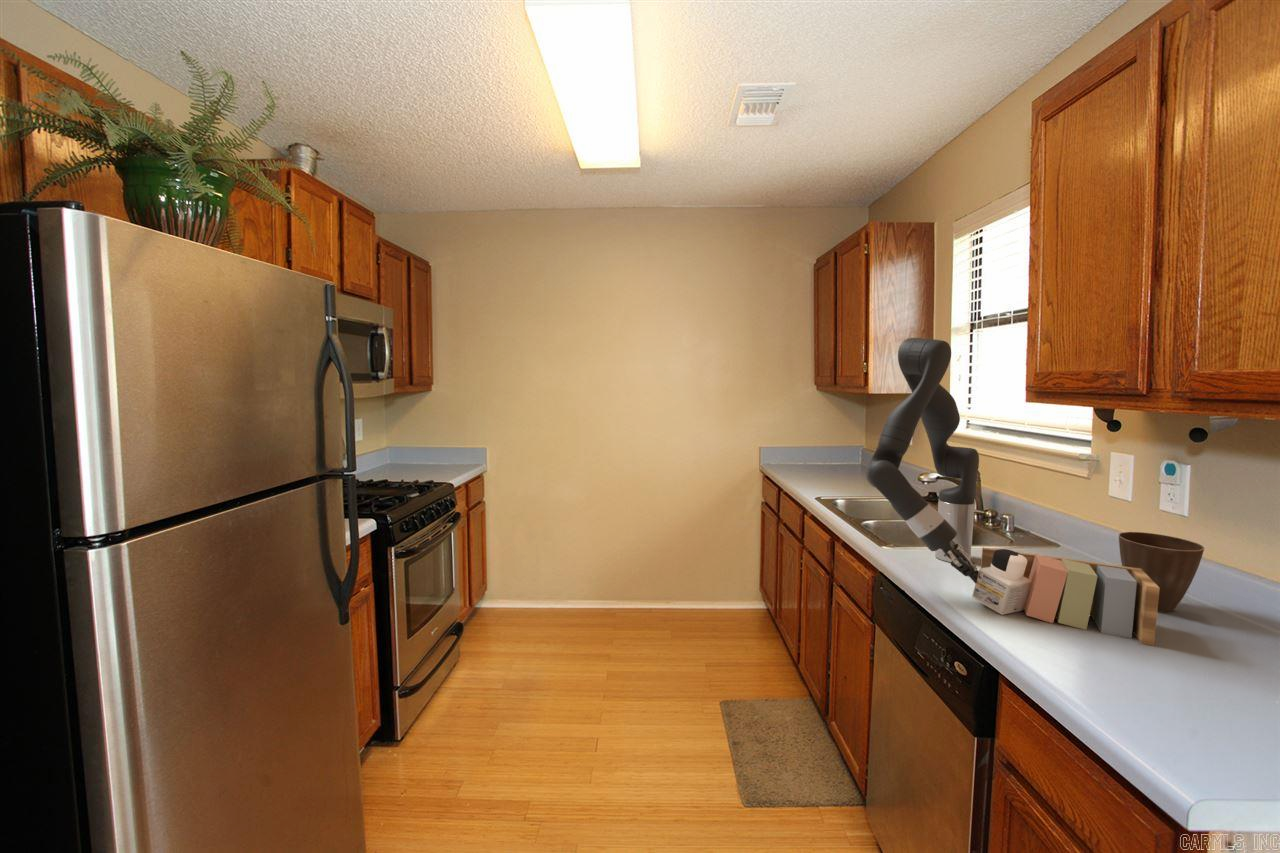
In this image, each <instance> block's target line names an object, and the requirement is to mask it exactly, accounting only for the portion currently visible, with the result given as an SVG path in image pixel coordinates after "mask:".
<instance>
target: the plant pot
mask: <svg viewBox="0 0 1280 853" xmlns="http://www.w3.org/2000/svg"><path fill="white" fill-rule="evenodd" d="M1118 543H1119V544H1118V545H1119V554H1120V561H1121V562H1120V563H1121V566H1125V567H1132V568H1140V569H1142V570H1143V571H1144V572H1145V573H1146V574H1147V575H1148V576H1149V577H1150V579H1151V580H1152V581H1153V582H1154V583H1155V584H1156V585H1157V586H1158V587H1159V588H1160V590H1159V600H1158V611H1157V613H1173V612H1174V611H1175V610H1176V609H1177V607H1178V606H1179V604H1180V602H1181V601H1182V600H1183V598H1184V596H1185V595H1186V594H1187V592H1188V589H1189V588H1190V586H1191V584H1192V582H1193V580H1194V578H1195V576H1196V573H1197V570H1198V568H1199V566H1200V563H1201V560H1202V558H1203V555H1204V551H1205V547H1204V546H1203V544H1200V543H1197V542H1195V541H1191V540H1189V539H1185V538H1180V537H1176V536H1170V535H1167V534H1166V535H1164V534H1157V533H1152V532H1142V531H1141V532H1139V531H1125V532H1120V533H1119V534H1118Z"/></svg>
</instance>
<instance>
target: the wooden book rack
mask: <svg viewBox="0 0 1280 853" xmlns="http://www.w3.org/2000/svg"><path fill="white" fill-rule="evenodd" d="M981 549H982V550H981V564H980V568H987V567H991V562H992V558H993V554H994V551H995V550H998V549H997V548H990V547H982V548H981ZM1016 552H1017V553H1019V554H1021V555H1023V556H1024V557H1025V558H1026V559H1027V565H1026V568H1025V572H1024V575H1023V577H1025V578H1027V579H1029V575H1030V572H1031V568H1032V565H1033V561H1034V558H1035V554H1036V553H1035V554H1034V553H1025V552H1019V551H1016ZM1041 555H1042V554H1041ZM1042 556H1044V555H1042ZM1045 556H1046V557H1049V558H1053V559H1057V560H1061V561H1062V559H1066V560H1071V561H1075V562H1080V563H1085V564H1089V565H1090V566H1091V568H1092V569H1093V571H1094V572H1095V573H1097V565H1099V566H1106V567H1114V568H1121V569H1126V570H1127V571H1128V572H1129V573H1130V574H1131V576H1132V577H1133V578H1134V579H1135V580H1136V581H1137V586H1136V597H1135V607H1134V618H1133V629H1132V634H1134V636H1135V637H1136V638H1137V640H1138V642H1140V644H1141V645H1146V646H1152V647H1155V643H1156V642H1155V640H1156V630H1157V619H1158V612H1157V611H1158V600H1159V590H1160V588H1159V587H1158V586H1157V585H1156V584H1155V583H1154V582H1153V581H1152V580H1151V579H1150V577H1149V576H1148V575H1147V574H1146V573H1145V572H1144V571H1143V570H1142V569H1140V568H1132V567H1125V566H1122V565H1116V564H1109V563H1102V562H1095V561H1093V562H1092V561H1086V560H1077V559H1072V558H1064V557H1057V556H1050V555H1049V556H1048V555H1045ZM1094 595H1095V591H1094ZM1093 607H1094V596H1093V601H1092V606H1091V611H1090V616H1089V617H1093Z"/></svg>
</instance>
